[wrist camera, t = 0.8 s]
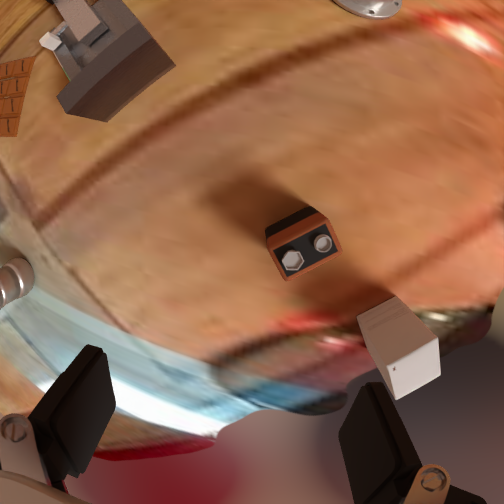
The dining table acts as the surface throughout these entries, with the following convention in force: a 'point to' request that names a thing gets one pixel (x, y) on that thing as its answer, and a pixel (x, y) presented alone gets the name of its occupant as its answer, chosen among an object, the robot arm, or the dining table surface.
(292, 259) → the battery
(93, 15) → the plunger
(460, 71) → the dining table surface
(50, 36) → the small white cube
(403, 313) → the supplement box
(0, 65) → the chocolate bar
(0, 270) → the plastic bottle
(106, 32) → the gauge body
